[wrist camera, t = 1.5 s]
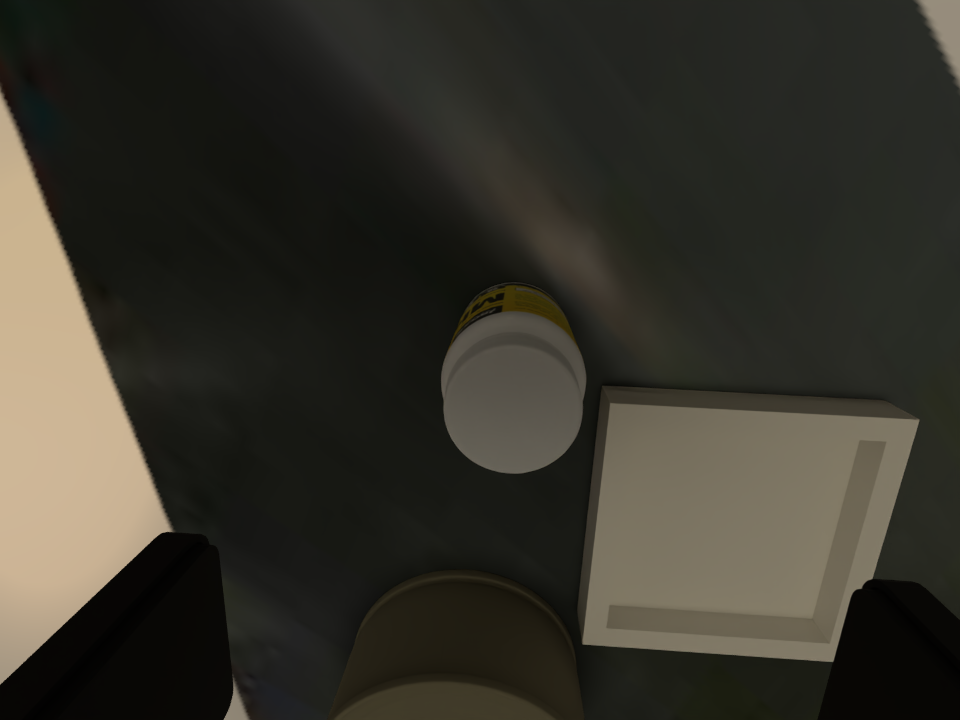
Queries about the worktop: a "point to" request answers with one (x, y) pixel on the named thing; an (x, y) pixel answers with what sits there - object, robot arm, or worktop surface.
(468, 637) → the can
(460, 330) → the supplement bottle
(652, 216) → the worktop surface
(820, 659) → the tray
